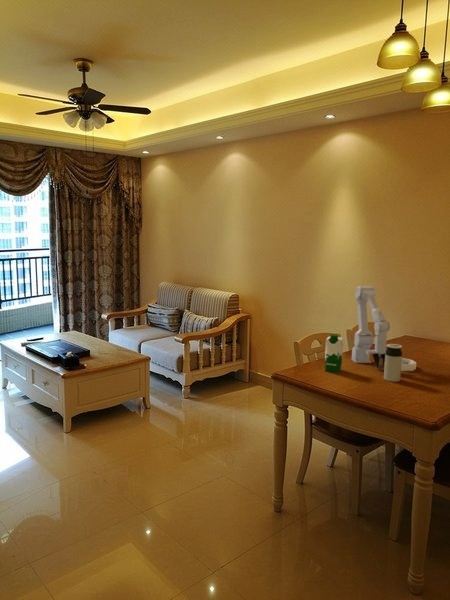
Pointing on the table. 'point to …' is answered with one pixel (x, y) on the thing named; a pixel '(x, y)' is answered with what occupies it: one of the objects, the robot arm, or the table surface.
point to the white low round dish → (408, 365)
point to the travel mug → (393, 363)
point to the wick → (380, 364)
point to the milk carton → (333, 353)
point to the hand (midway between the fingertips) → (379, 367)
